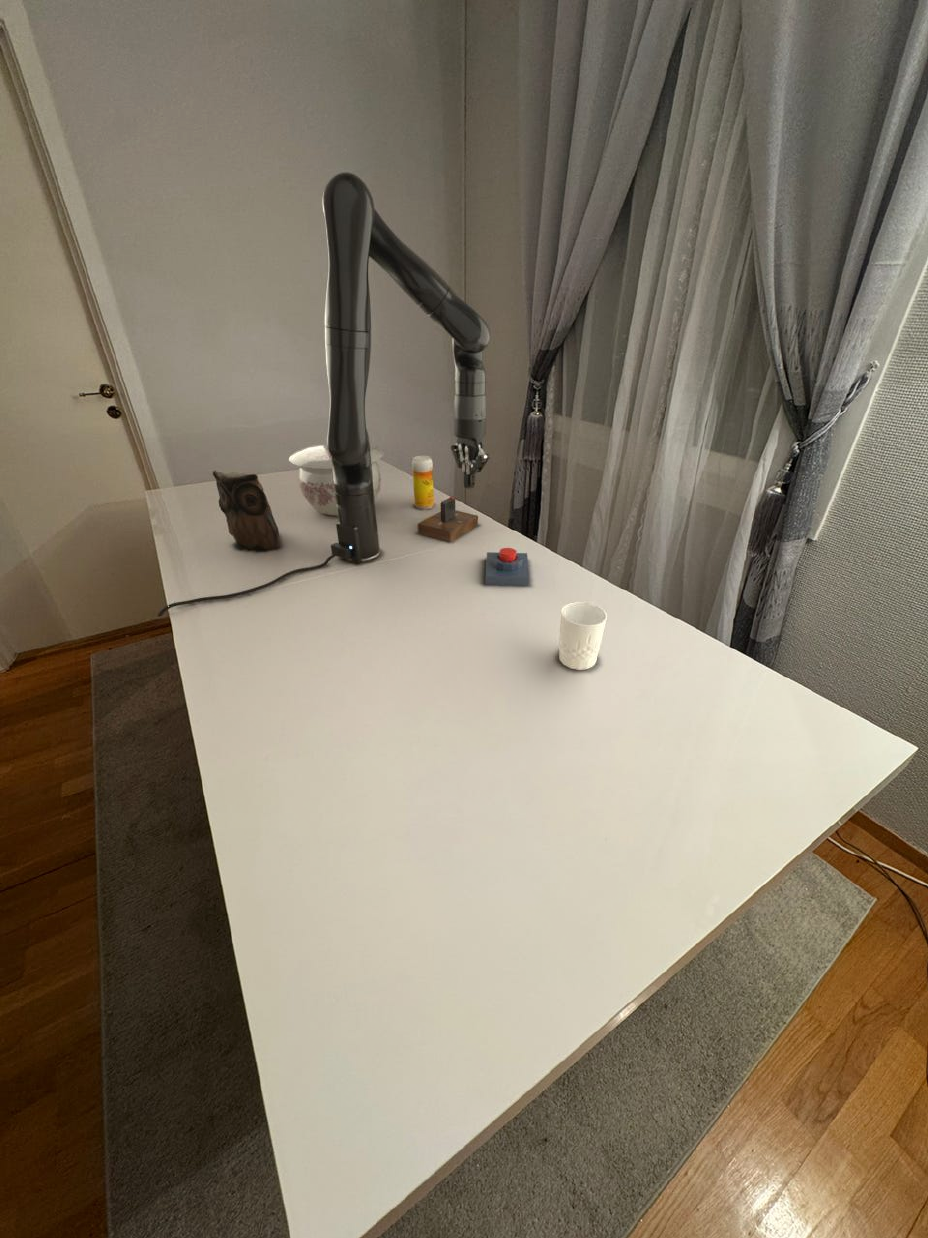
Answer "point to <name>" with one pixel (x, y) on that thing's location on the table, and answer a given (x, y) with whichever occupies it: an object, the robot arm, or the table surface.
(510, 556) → the press knob
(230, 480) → the owl
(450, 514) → the dial knob
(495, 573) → the button box
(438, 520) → the dial panel
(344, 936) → the table surface
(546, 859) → the table surface
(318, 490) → the chamber pot
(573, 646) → the white cup
